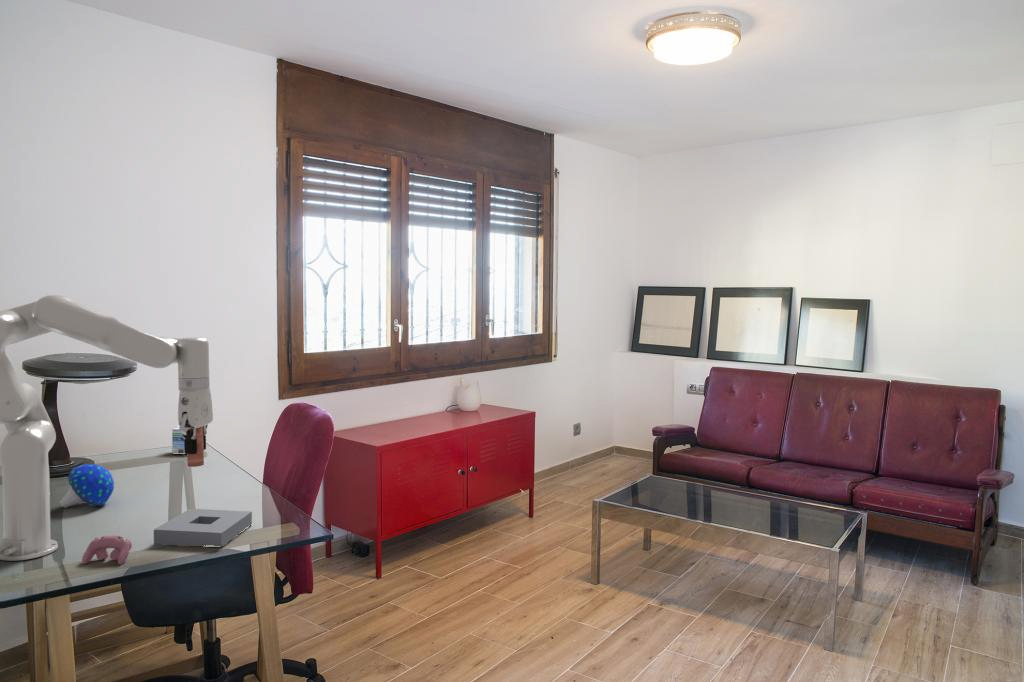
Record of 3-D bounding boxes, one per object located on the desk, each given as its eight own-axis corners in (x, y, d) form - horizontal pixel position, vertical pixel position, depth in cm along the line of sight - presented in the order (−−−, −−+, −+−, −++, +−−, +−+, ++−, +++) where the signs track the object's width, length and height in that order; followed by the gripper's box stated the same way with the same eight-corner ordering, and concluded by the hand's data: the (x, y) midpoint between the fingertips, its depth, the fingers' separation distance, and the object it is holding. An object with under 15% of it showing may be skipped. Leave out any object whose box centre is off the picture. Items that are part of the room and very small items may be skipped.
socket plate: (221, 548, 178) (221, 532, 178) (153, 544, 179) (153, 529, 179) (251, 525, 196) (251, 511, 196) (190, 522, 197) (190, 508, 197)
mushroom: (46, 478, 209) (92, 447, 213) (80, 508, 216) (124, 477, 220) (42, 500, 197) (91, 466, 201) (78, 531, 204) (125, 498, 208)
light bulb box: (171, 455, 276) (171, 428, 275) (178, 451, 283) (178, 425, 282) (199, 455, 277) (199, 428, 276) (205, 451, 284) (205, 425, 283)
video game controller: (130, 566, 169) (136, 536, 171) (121, 564, 164) (127, 534, 167) (88, 565, 168) (95, 536, 171) (78, 564, 164) (86, 533, 167)
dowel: (199, 466, 184) (198, 422, 183) (184, 466, 184) (183, 421, 183) (206, 463, 188) (205, 419, 187) (192, 462, 188) (191, 419, 187)
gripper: (191, 388, 176) (193, 459, 177) (222, 380, 192) (223, 445, 194) (163, 388, 176) (164, 458, 177) (196, 379, 193) (197, 444, 194)
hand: (195, 451), depth 185 cm, fingers closed on dowel, 4 cm apart
